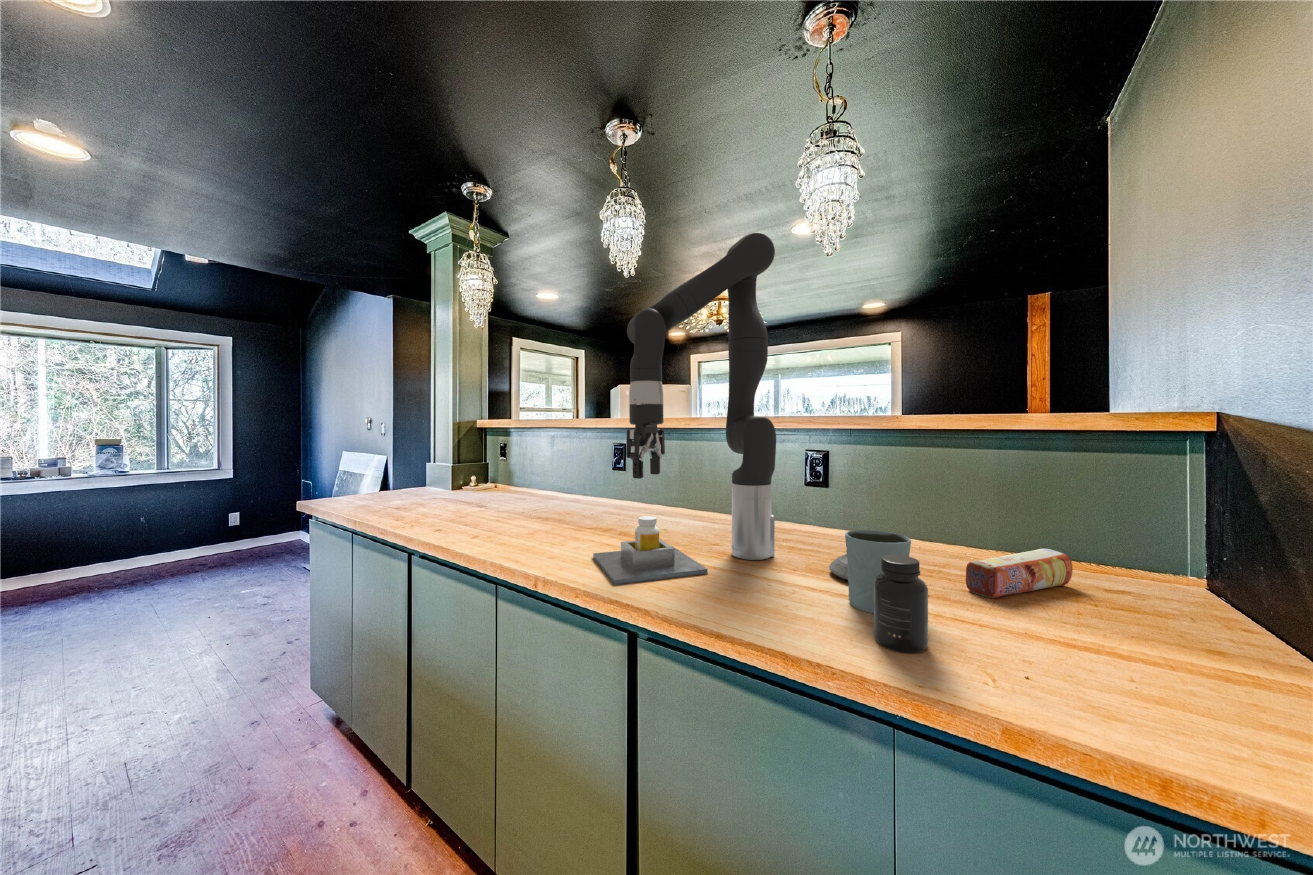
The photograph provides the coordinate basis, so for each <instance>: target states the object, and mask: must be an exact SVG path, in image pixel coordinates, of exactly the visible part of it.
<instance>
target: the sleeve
mask: <svg viewBox="0 0 1313 875" xmlns="http://www.w3.org/2000/svg"><path fill="white" fill-rule="evenodd" d="M592 559H593V560H595V562H596V563H597V564H598V566H599V567H600V568H601V570H602V571H603V572H604V574H606V576H607V577H608V578H609V580H610V581H611V582H612V584H613V585H614V586H619V585H626V584H634V583H644V582H652V581H659V580H668V579H674V578H675V579H676V578H684V577H692V576H700V575H707V574H708V572H709V571H708V568H707V567H705V566H704V565H702V564H700V563H699V562H697V561H696V560H695V559H693V558H691V557H690V556H689V555H687V554H686V553H684V552H682V551H681V550H679V549H678V548H676V547H675V546H673V545H670V544H668V543H667V542H666V541H664V540H663V539H661V538H659V548H658V549H647V550H635V540H629V541H628V540H627V541H620V550H615V551H605V552H594V553H592Z"/></svg>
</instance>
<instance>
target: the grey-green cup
mask: <svg viewBox="0 0 1313 875" xmlns="http://www.w3.org/2000/svg"><path fill="white" fill-rule="evenodd" d="M844 538H845V548H846V554H847V560H848V568H847V571H848V579H849V580H847V582H848V601H849V604H850V605H851V606H852V607H854V608H855V609H857V610H860V611H862V612H866V613H869V614H873V615H874V580H875V578H876V577H877V576H878V575H879V574H881V573H883V572H882V571H881V558H882V557H883V556H885V555H903V556H908V557H910V553H911V546H912V545H911V544H912V540H911V538H910V537H908V536H907V535H903V534H900V533H895V532H890V531H889V532H888V531H885V530H884V531H883V530H875V529H874V530H873V529H872V530H871V529H853V530H847V531H846V532H845V534H844Z"/></svg>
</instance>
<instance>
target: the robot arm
mask: <svg viewBox="0 0 1313 875" xmlns="http://www.w3.org/2000/svg"><path fill="white" fill-rule="evenodd" d="M775 249H776V248H775V245H774V242H773V241H772V239H771V238H770V237H769V236H768V235H767V234H765V233H762V232H758V231H756V232H755V231H754V232H750V233H748V234H745V235H743V237H741V238H740V239H738V240H737V241H736V242H734V244H733V245H731V247H730V248H729V249H728V251H727V252H726V255H725V256H724V257H722V258H721V259H719V260H718V261H717V262H715V263H714V264H712V265H711V266H709V267H708V268H706V269H705V270H703V271H701V272H699V273H698V274H696V275H695V276H692V278H690V279H688V280H685V282H684V283H682V284H680V285H679V286H677V287H675V288H674V289H673V290H671V291H669V292H668V293H667V294H665V295H664V296H663V297H662V298H661V299H660V300H659V301H658V302H656V303H655V304H653V305H652V306H650V307H648V308H644V309H641V310H639V312H638V313H636V314H635V315H633V317H632V318H631V319H630V321H629V322H628V324H627V329H626V334H627V337H628V340H629V341H630V342H631V343H632V344H633V345H634V346H633V354H632V355H633V356H632V357H631V360H630V364H629V367H630V368H629V380H630V384H629V391H628V392H629V393H628V394H629V395H628V398H629V399H628V402H629V403H628V404H629V405H628V409H629V410H628V411H629V412H628V413H629V416H628V417H629V424H630V425H635V426H634V429H627V431H626V454H625V455H626V456H625V457H626V458H627V459H630V460H631V461H632V478H633V479H638V480H639V479H643V478H644V456H645V454H646V453H648V454H649V457H650V459H649V463H650V465H649V472H650V475H655V476H656V475H660V474H661V458H662V455H665V453H666V446H665V442H666V441H665V429H664V428H659V427H658V425H662V424H664V387H663V370H662V369H663V364H662V362H663V356H664V349H665V344H666V342H665V341H666V335H667V334H666V333H667V332H669V330H671V329H673V328H674V327H675V326H678V325H679V324H681V323H684V322H685V321H687V320H688V319H689V318H691V317H693V316H694V315H696V314H697V313H698V312H700V310H702V309H703V308H705V307H706V306H707V305H709V304H710V303H711V302H713V300H715V299H717V298H718V297H719V296H720V295H721V294H723V293H724V292H725V291H727V297H728V298H727V299H728V300H727V301H728V340H727V341H728V342H727V344H728V345H727V346H728V403H727V413H726V422H725V438H726V439H725V440H726V444H727V445H728V446H727V447H729V449H730V450H731V451H732V452H733V453H735V454H738V455H739V454H741V455H742V462H741V465H740V466H739V467H738V468H736V469H735V470H733V471H732V473H731V555H732V556H733V557H735V558H738V559H742V560H749V561H760V560H761V561H763V560H767V559H770V558H771V557H775V556H776V555H775V554H776V553H775V552H776V549H775V548H776V546H775V545H776V544H775V541H776V538H775V534H776V524H775V523H776V517H775V515H773V514H772V478H773V475H774V472H775V467H776V457H777V456H776V454H777V431H776V427H775V425H774V423H773V422H772V421H771V419H769V418H768V417H766V416H761V415H755V397H756V393H757V390H758V387H759V384H760V382H761V380H762V378H763V376H764V372H765V370H766V367H767V363H768V358H769V357H768V356H769V352H768V351H769V350H768V349H769V346H768V345H769V344H768V342H769V341H768V331H767V327H766V324H765V321H764V319H763V317H762V314H761V312H760V309H759V307H758V302H757V280H758V276H760V275H761V274H762V273H765V271H766V270H768V268H770V266H771V265H772V263H773V262H774V258H775V254H776V250H775Z"/></svg>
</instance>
